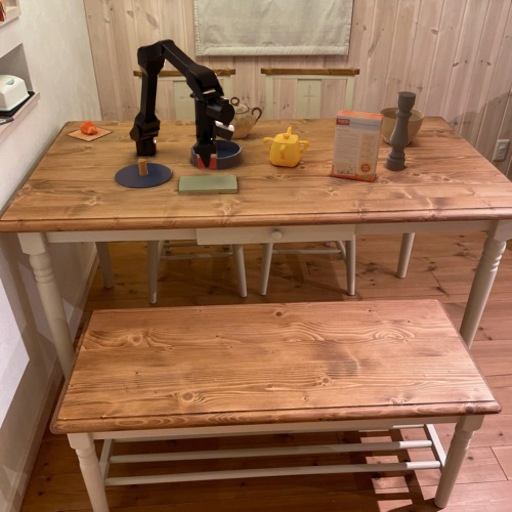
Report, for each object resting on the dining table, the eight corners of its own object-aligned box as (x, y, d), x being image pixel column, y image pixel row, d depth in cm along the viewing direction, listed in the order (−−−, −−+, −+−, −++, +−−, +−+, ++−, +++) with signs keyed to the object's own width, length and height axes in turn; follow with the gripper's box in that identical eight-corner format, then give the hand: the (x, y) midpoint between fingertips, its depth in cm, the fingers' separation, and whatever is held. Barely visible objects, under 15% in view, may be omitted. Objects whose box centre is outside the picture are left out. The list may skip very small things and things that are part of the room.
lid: (111, 190, 161) (108, 173, 158) (119, 166, 176) (116, 149, 173) (170, 189, 163) (169, 171, 159) (173, 165, 178) (172, 148, 174)
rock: (89, 141, 195) (87, 130, 192) (66, 134, 200) (64, 124, 198) (112, 131, 203) (110, 121, 201) (90, 125, 208) (88, 115, 206)
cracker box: (375, 175, 172) (384, 113, 161) (372, 182, 168) (382, 119, 156) (334, 169, 176) (340, 108, 164) (330, 176, 171) (336, 114, 160)
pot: (191, 171, 173) (190, 159, 171) (192, 151, 188) (191, 139, 185) (242, 170, 175) (242, 158, 172) (240, 150, 189) (240, 138, 186)
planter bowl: (424, 139, 200) (429, 111, 194) (410, 152, 188) (416, 123, 182) (384, 130, 207) (388, 103, 201) (369, 143, 195) (373, 115, 189)
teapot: (258, 158, 183) (259, 130, 177) (289, 151, 189) (290, 123, 183) (279, 172, 173) (280, 143, 168) (310, 165, 179) (313, 136, 173)
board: (179, 194, 160) (178, 190, 159) (180, 180, 168) (180, 176, 167) (237, 192, 161) (237, 188, 160) (235, 178, 169) (235, 174, 168)
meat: (198, 168, 159) (197, 156, 156) (198, 163, 162) (197, 151, 160) (216, 168, 159) (216, 156, 157) (216, 163, 162) (215, 151, 160)
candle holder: (405, 165, 179) (418, 92, 165) (401, 172, 175) (415, 98, 161) (387, 162, 181) (399, 90, 167) (383, 168, 177) (395, 95, 163)
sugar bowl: (210, 142, 195) (209, 103, 186) (211, 128, 207) (209, 90, 199) (262, 142, 196) (263, 102, 187) (260, 128, 208) (260, 90, 200)
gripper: (233, 126, 144) (234, 177, 153) (231, 104, 160) (231, 152, 168) (193, 126, 144) (196, 178, 152) (194, 105, 159) (197, 152, 168)
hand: (207, 164), depth 160 cm, fingers closed on meat, 4 cm apart
